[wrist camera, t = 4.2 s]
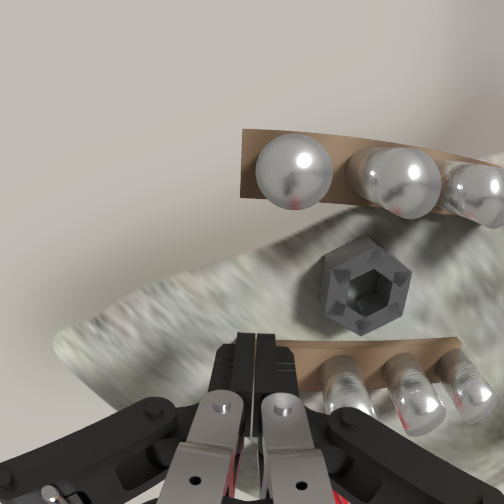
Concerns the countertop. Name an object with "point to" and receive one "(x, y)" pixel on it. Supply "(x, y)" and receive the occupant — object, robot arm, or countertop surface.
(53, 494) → the robot arm
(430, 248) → the countertop surface
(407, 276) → the nut
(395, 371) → the vanity light bulbs
